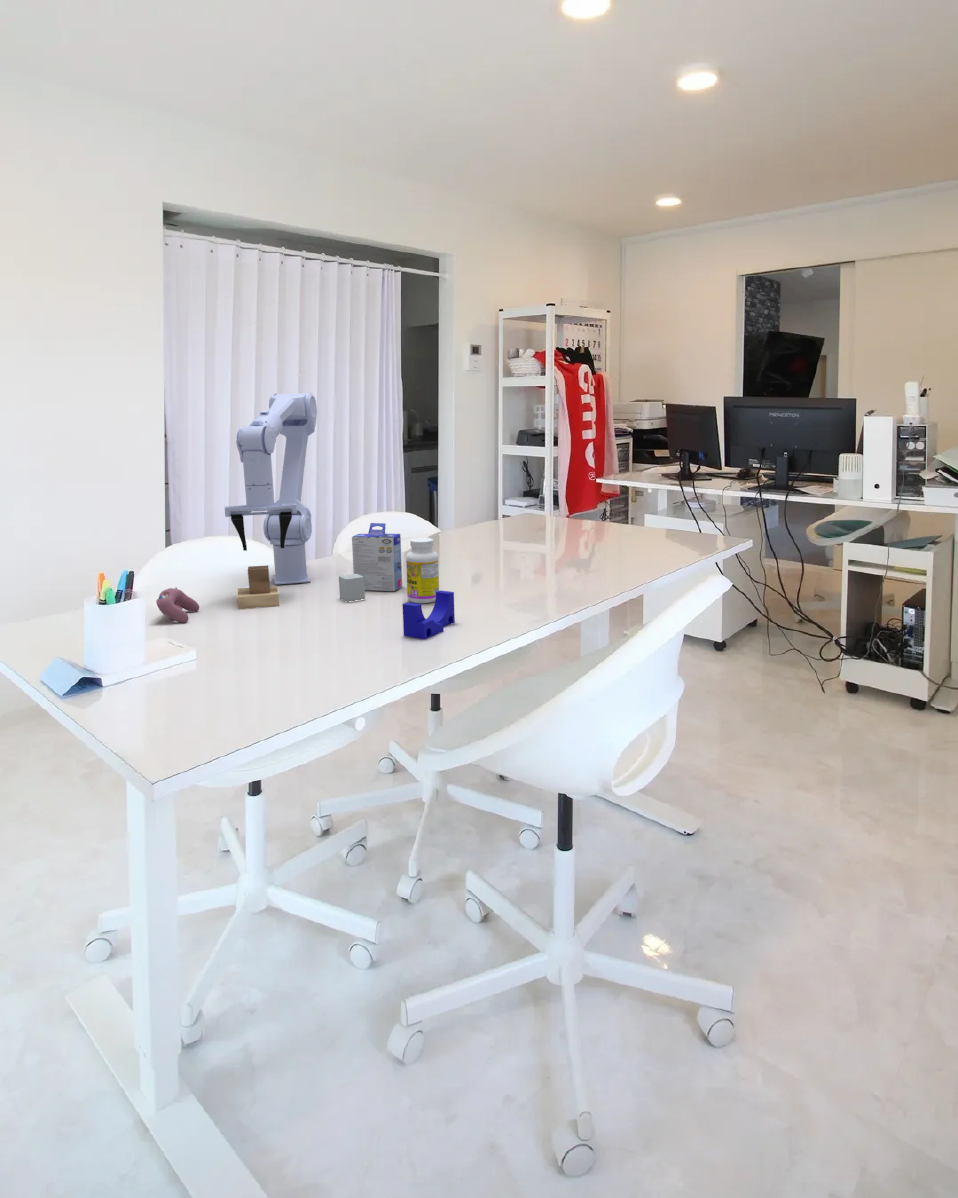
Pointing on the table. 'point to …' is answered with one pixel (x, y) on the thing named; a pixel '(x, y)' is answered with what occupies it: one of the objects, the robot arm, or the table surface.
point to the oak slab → (257, 598)
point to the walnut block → (258, 579)
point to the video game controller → (176, 604)
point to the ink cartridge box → (378, 559)
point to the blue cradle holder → (435, 622)
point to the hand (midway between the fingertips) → (263, 548)
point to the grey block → (351, 587)
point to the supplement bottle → (422, 571)
